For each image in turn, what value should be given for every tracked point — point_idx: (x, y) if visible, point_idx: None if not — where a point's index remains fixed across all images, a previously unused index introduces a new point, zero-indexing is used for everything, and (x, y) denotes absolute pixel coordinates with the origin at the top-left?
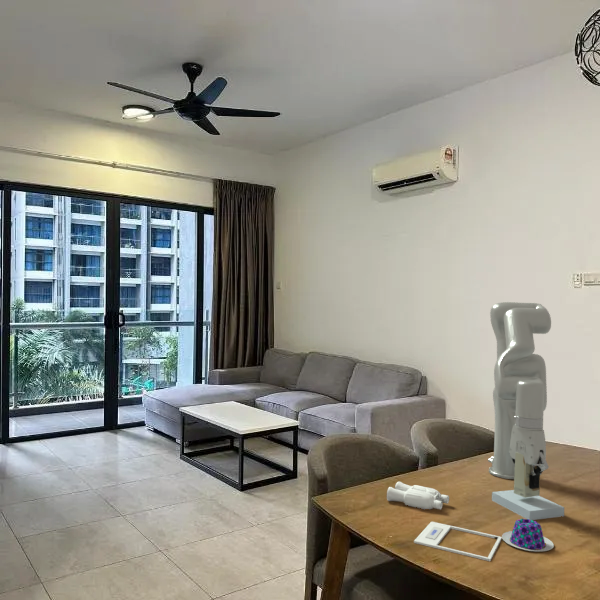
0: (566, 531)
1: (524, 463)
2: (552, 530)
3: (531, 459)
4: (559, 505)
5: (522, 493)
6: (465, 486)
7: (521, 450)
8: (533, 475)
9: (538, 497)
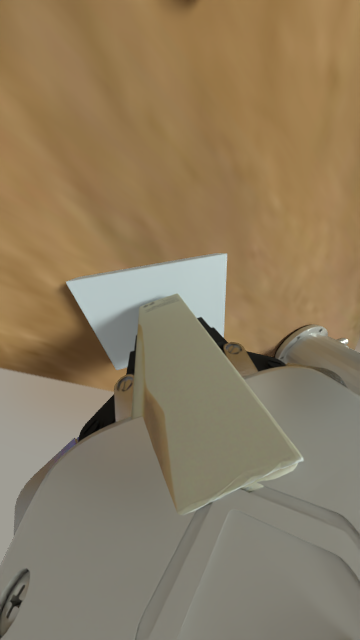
0: (14, 329)
1: (147, 404)
2: (6, 300)
3: (38, 534)
4: (127, 365)
5: (147, 307)
6: (303, 238)
7: (251, 614)
8: (121, 377)
9: None
